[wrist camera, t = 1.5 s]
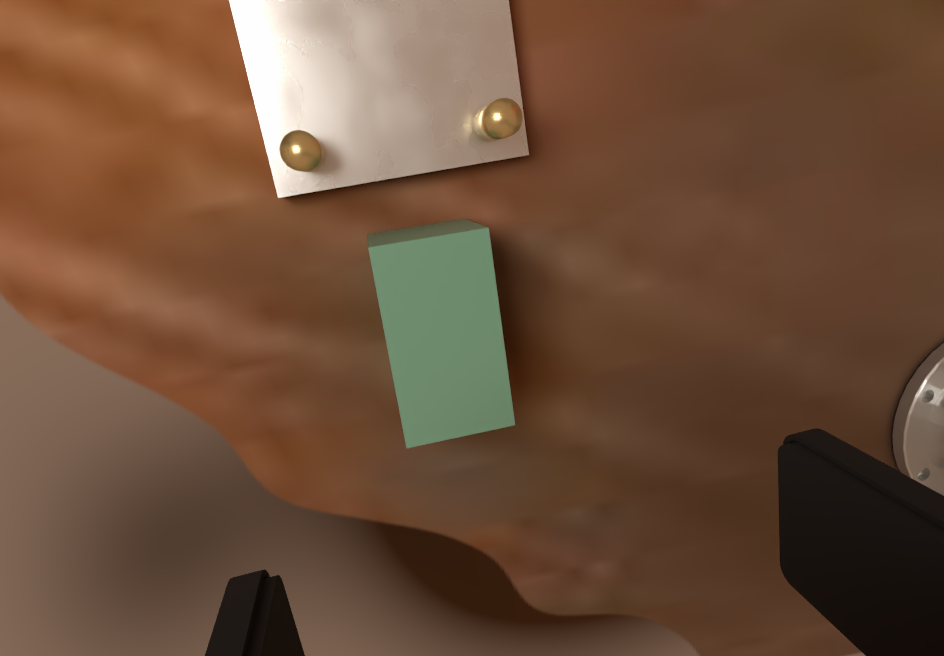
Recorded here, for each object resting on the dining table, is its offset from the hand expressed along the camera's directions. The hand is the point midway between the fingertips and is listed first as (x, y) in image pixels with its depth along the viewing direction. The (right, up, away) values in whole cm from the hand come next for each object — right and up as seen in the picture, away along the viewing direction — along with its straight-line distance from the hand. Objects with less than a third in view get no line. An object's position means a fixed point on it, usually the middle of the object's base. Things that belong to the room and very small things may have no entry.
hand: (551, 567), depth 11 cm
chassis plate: (-6, +19, +16) cm, 26 cm away
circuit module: (-4, +5, +20) cm, 21 cm away
